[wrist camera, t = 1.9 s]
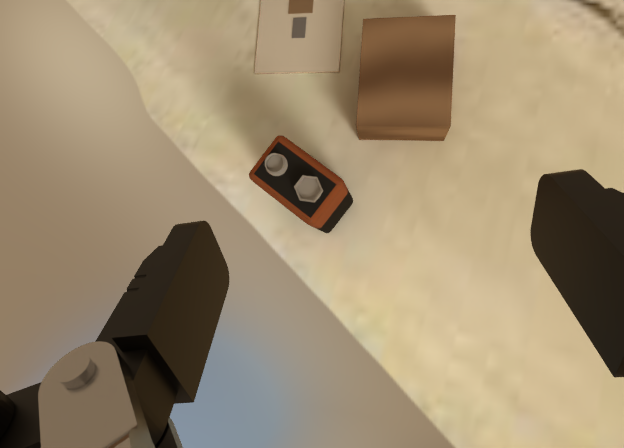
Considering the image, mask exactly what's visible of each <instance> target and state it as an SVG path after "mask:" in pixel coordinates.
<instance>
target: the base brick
mask: <svg viewBox="0 0 624 448" xmlns="http://www.w3.org/2000/svg"><path fill="white" fill-rule="evenodd" d="M454 37H455V15H442V16H420V17H398V18H375V19H363V32H362V47H361V62H360V77H359V92H358V108H357V123H356V127H357V131H358V136H359V140H426V141H444V139H445V137H446V135H447V133H448V131H449V128H450V126H451V104H452V82H453V59H454Z"/></svg>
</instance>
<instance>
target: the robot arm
mask: <svg viewBox="0 0 624 448" xmlns="http://www.w3.org/2000/svg"><path fill="white" fill-rule="evenodd" d="M531 242H532V246H533V249H534V252H535V254H536V256H537V257H538V259H539V261H540V262H541V264H542V265H543V267H544V268H545V270H546V272H547V273H548V275H549V276H550V278H551V279H552V281H553V282H554V284H555V286H556V287H557V289H558V290H559V292H560V293H561V295H562V297H563V298H564V300H565V301H566V303H567V304H568V306H569V307H570V309H571V311H572V312H573V314H574V315H575V317H576V318H577V320H578V322H579V323H580V325H581V326H582V328H583V329H584V331H585V332H586V334H587V336H588V337H589V339H590V340H591V342H592V343H593V345H594V347H595V348H596V350H597V351H598V353H599V354H600V356H601V358H602V359H603V361H604V362H605V364H606V365H607V367H608V368H609V370H610V372H611V373H612V375H613V376H614V377H624V193H622V192H620V191H617V190H615V189H613V188H607V189H605V188H604V187H603V186H601V185H600V184H599V183H598V182H597V181H596V180H595V179H594V178H593V177H592V176H591V175H590V174H588V173H587V172H586V171H585V170H581V169H579V170H572V171H565V172H558V173H551V174H544V175H543V176H542V177H541V178H540V180H539V183H538V189H537V195H536V201H535V207H534V213H533V219H532V225H531ZM134 277H135V279H132V281H131V282H130V284H129V286H128V287H127V292H125V293H124V294H123V296H122V298H121V299H120V301H119V303H118V304H117V306H116V308H115V309H114V311H113V313H112V314H111V316H110V318H109V320H108V321H107V323H106V325H105V326H104V328H103V330H102V331H101V333H100V335H99V336H98V338H97V340H96V341H95V342H92V343H88V344H85V345H82V346H80V347H78V348H76V349H74V350H72V351H71V352H69V353H68V354H66V355H65V356H64V357H62V358H61V359H60V360H59V361H58V362H57V363H56V364H55V365H54V366H53V367H52V368H51V369H50V370H49V371H48V373H47V374H46V376H45V377H44V379H43V381H42V382H41V383H38V384H35V385H33V386H30V387H27V388H24V389H22V390H19V391H16V392H13V393H11V394H8V395H5V394H4V393H3V392H2V391H0V448H183V447H182V444H181V441H180V439H179V436H178V434H177V431H176V428H175V426H174V423H173V421H172V420H171V419H170V417H169V416H170V413H171V411H172V408H173V404H174V403H190V402H194V399H195V396H196V393H197V390H198V386H199V382H200V379H201V376H202V373H203V370H204V366H205V363H206V360H207V357H208V353H209V350H210V347H211V343H212V340H213V337H214V333H215V330H216V327H217V324H218V320H219V317H220V314H221V310H222V307H223V304H224V300H225V297H226V294H227V290H228V287H229V271H228V267H227V264H226V261H225V259H224V257H223V255H222V252H221V250H220V247H219V245H218V243H217V241H216V238H215V236H214V234H213V232H212V229H211V227H210V225H209V224H208V223H207V222H206V221H198V222H191V223H183V224H177V225H175V226H174V227H173V229H172V230H171V232H170V234H169V236H168V237H167V239H166V241H165V243H164V244H163V246H158V247H157V248H156V249H155V250H154V251H153V252H152V253H151V254H150V255H149V256H148V257H147V258H146V259H145V260H144V261H143V262H142V264H141V266H140V267H139V269H138V271H137V272H136V274H135V276H134Z"/></svg>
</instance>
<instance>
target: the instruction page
mask: <svg viewBox="0 0 624 448" xmlns="http://www.w3.org/2000/svg"><path fill="white" fill-rule="evenodd" d="M343 10H344V0H261V5H260V16H259V28H258V39H257V50H256V61H255V72H254V73H255V74H269V73H322V72H339V66H340V52H341V38H342V24H343Z"/></svg>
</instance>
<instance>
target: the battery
mask: <svg viewBox="0 0 624 448" xmlns="http://www.w3.org/2000/svg"><path fill="white" fill-rule="evenodd" d="M249 177H250V179H251V180H252V181H253V182H254V183H256V184H257V185H258V186H259V187H261V188H262V189H263V190H264V191H266V192H267V193H268V194H270V195H271V196H272V197H273V198H275V199H276V200H277V201H278V202H280V203H281V204H282V205H284V206H285V207H286V208H287V209H289V210H290V211H291V212H293V213H294V214H295V215H296V216H298V217H299V218H300V219H301V220H303V221H304V222H305V223H307V224H308V225H310V226H312V227H315V228H317V229H319V230H321V231H323V232H325V233H329V232H331V230H332V229H333V228H334V227H335V225H336V224H337V223H338V221H339V220H340V219H341V217H342V216H343V215H344V214H345V212H346V211H347V210H348V208H349V207H350V206H351V204H352V203H353V198H352V196H351V195H350V193H349V191H348V189H347V187H346V185H345V183H344V181H343V180H342V179H341V178H340V177H339V176H337V175H336V174H335V173H333V172H332V171H330V170H329V169H328V168H326V167H325V166H324V165H322V164H321V163H320V162H318V161H317V160H316V159H314V158H313V157H311V156H310V155H309V154H307V153H306V152H305V151H303V150H302V149H301V148H299V147H298V146H296V145H295V144H294V143H292V142H291V141H290V140H288V139H287V138H285V137H284V136H277V137H276V138H275V140H274V141H273V142H272V144H271V145H270V146H269V147H268V149H267V150H266V151H265V153H264V154H263V155H262V157H261V158H260V159H259V161H258V162H257V163H256V165H255V166H254V167H253V169H252V170H251V171H250V173H249Z"/></svg>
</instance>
